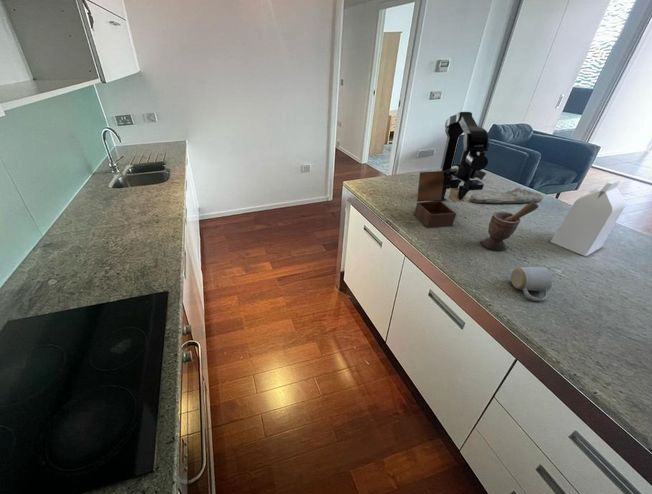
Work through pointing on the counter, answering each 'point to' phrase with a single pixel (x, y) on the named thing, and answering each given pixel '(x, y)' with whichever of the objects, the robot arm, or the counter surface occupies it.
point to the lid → (430, 186)
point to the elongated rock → (507, 197)
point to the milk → (590, 220)
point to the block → (455, 195)
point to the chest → (435, 214)
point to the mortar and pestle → (505, 226)
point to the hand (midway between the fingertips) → (456, 197)
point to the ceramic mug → (532, 280)
